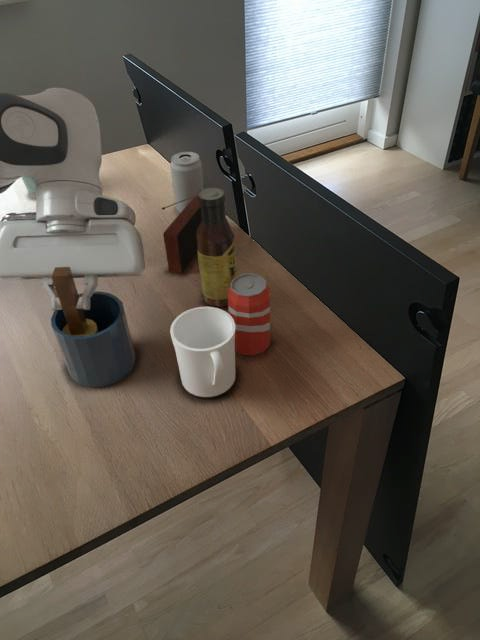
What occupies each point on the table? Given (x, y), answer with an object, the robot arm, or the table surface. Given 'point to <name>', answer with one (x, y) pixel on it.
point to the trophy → (71, 304)
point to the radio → (183, 236)
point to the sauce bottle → (215, 248)
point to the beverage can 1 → (186, 177)
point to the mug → (205, 351)
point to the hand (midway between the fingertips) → (71, 310)
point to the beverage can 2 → (250, 313)
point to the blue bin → (98, 343)
